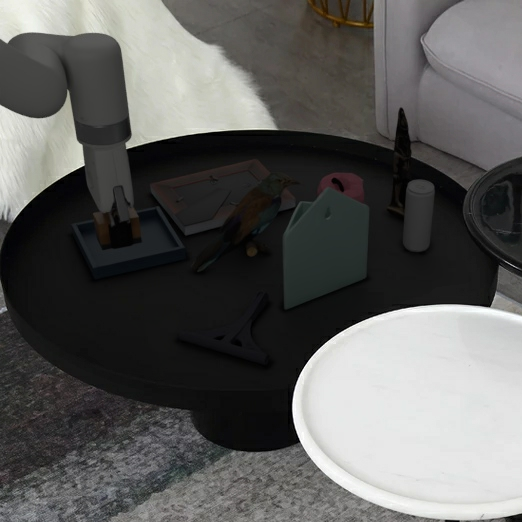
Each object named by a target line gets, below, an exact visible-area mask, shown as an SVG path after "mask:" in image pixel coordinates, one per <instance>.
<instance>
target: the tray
mask: <svg viewBox="0 0 522 522" xmlns="http://www.w3.org/2000/svg"><path fill="white" fill-rule="evenodd" d="M135 211H136V213H137V214H138V216H139V222H140V230H141V238H142V243H137V244H133V245H132V246H128V247H123V248H118V249H113V248H112V249H107V250H102V248H101V246H100V244H99V242H98V240H97V237H96V231H95V224H94V218H93V219H89V220H84V221H80V222H74V223H70V226H71V230H72V236H73V238H74V240H75V242H76V245H77V246H78V248H79V250H80V252H81V254H82V256H83V258H84V261H85V263H86V265H87V266H88V269H89V271H90V273H91V275H92V276H93V279H94V280H100V279H104V278H108V277H112V276H116V275H117V276H118V275H121V274H126V273H130V272H134V271H140V270H143V269H148V268H152V267H156V266H161V265H166V264H169V263H174V262H178V261H185V260H186V259H187V255H186V247H185V245H184V244H183V242H182V240H181V239H180V237H179V236H178V234H177V233H176V231H175V230H174V227H172V225H171V224H170V222H169V220H168V219H167V217H166V215H165V213H164V212H163V210H162V209H161V207H160V206H159V205H158V206H153V207H148V208H143V209H138V210H135Z"/></svg>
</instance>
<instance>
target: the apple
mask: <svg viewBox="0 0 522 522" xmlns="http://www.w3.org/2000/svg"><path fill="white" fill-rule="evenodd" d="M326 187H330V188H332V189H334V190H336V191H338V192H340V193H342V194H344V195H346V196H348V197H350V198H352V199H354V200H356V201H358V202H360V203H362V204H365V205H366V203H365V192H364V189H365V188H364V179H363V178H361V177H360V176H358V175H356V174H355V173H353V172H332V173H330V174H327V175H325V176H324V177H323V178H321V180H320V182H319V184H318V187H317V192H316V193H317V196H316V199H317V198H318V197H319V195H320V194H321V193H322V192H323V191H324V189H325V188H326Z"/></svg>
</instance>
